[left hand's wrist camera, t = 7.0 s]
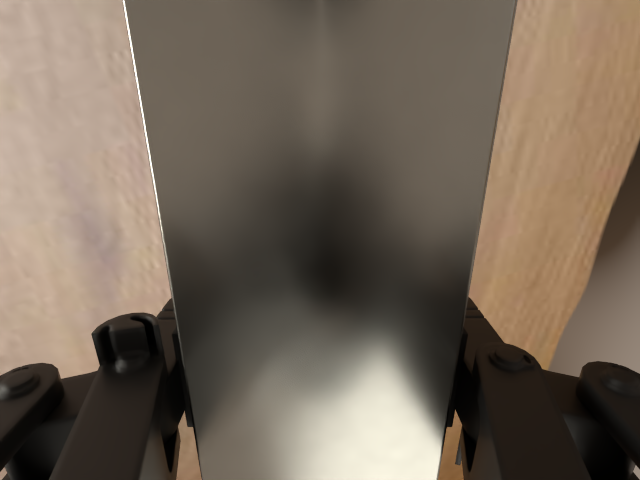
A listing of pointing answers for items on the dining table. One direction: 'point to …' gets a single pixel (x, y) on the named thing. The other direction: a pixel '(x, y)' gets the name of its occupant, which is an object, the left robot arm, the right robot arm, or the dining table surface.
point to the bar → (319, 219)
